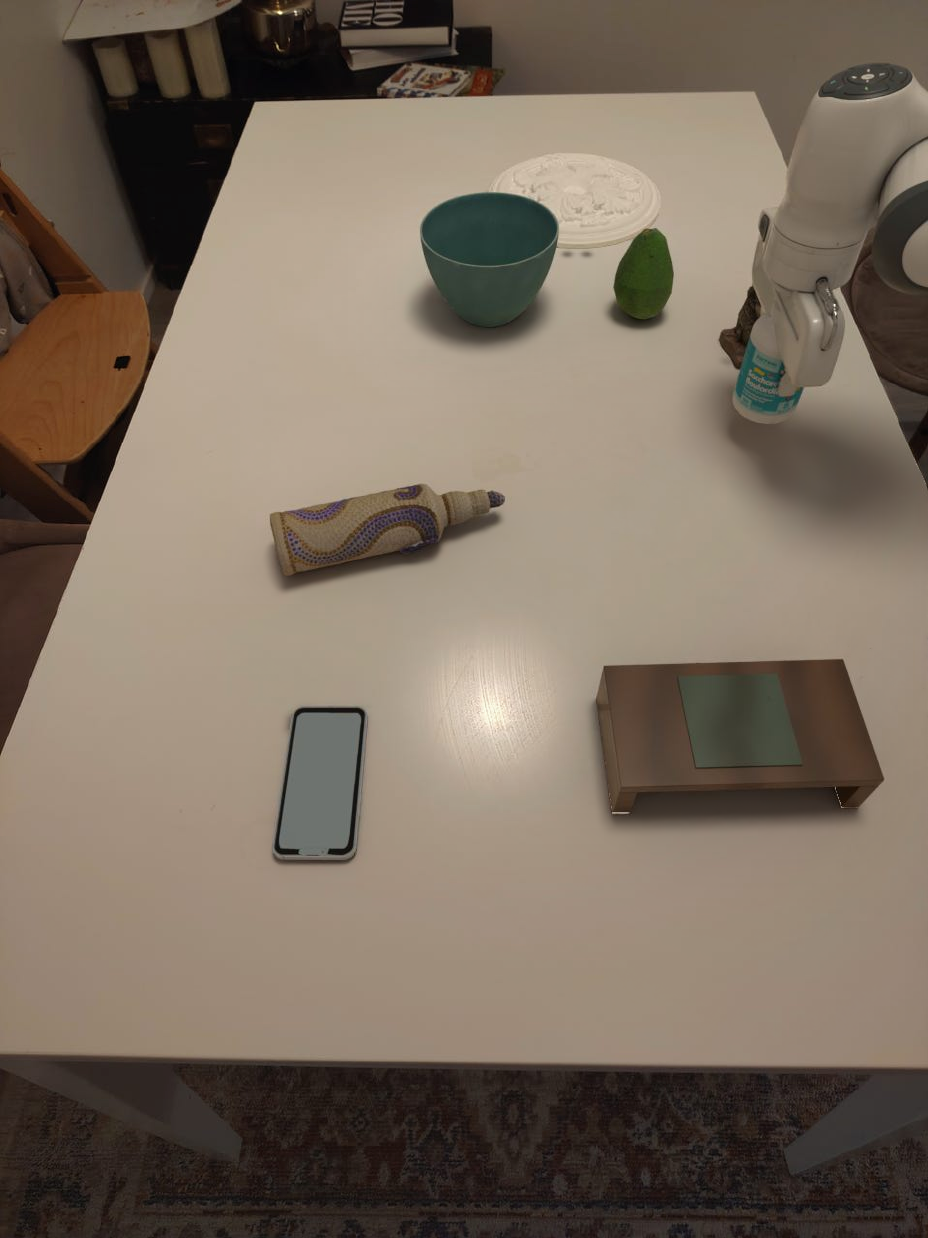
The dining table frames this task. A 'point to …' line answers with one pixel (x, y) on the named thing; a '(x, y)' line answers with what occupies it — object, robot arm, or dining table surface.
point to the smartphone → (321, 784)
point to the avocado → (644, 275)
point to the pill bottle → (763, 376)
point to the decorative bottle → (371, 525)
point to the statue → (742, 328)
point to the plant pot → (489, 253)
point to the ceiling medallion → (586, 196)
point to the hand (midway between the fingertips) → (774, 366)
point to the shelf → (734, 729)
